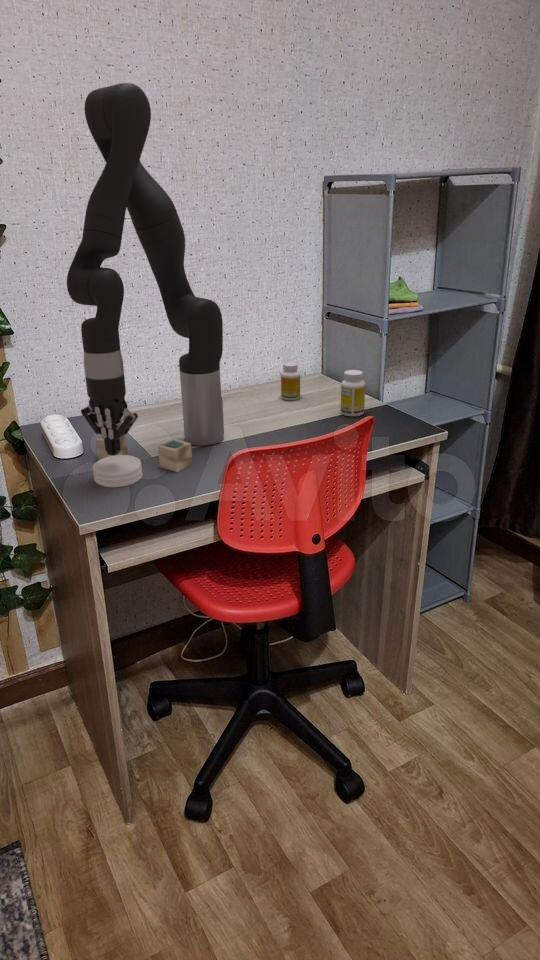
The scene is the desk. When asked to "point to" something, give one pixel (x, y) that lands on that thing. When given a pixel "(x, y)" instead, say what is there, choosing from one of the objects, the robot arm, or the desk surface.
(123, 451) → the marked block
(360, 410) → the pill bottle
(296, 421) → the desk surface
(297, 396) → the supplement bottle
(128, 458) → the white round container
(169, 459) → the marked block
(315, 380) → the desk surface
